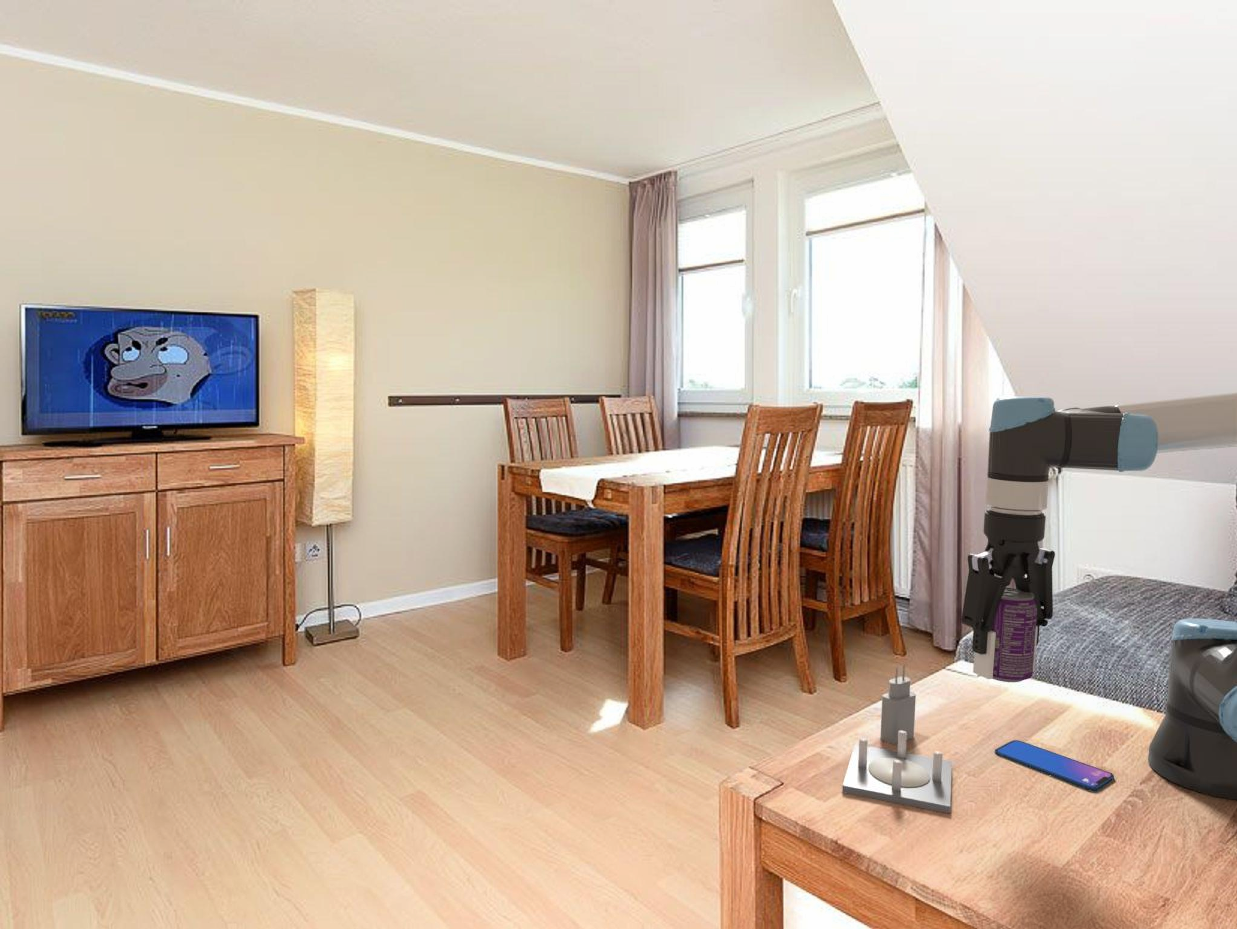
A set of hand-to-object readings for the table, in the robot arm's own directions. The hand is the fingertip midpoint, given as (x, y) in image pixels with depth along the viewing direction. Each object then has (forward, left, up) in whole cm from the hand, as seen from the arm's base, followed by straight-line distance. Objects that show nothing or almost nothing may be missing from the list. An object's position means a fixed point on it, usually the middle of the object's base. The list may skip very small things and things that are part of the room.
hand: (1003, 671), depth 113 cm
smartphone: (-8, -11, -18) cm, 23 cm away
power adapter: (+14, -12, -17) cm, 25 cm away
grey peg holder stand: (+13, +3, -17) cm, 22 cm away
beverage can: (0, 0, -1) cm, 1 cm away
